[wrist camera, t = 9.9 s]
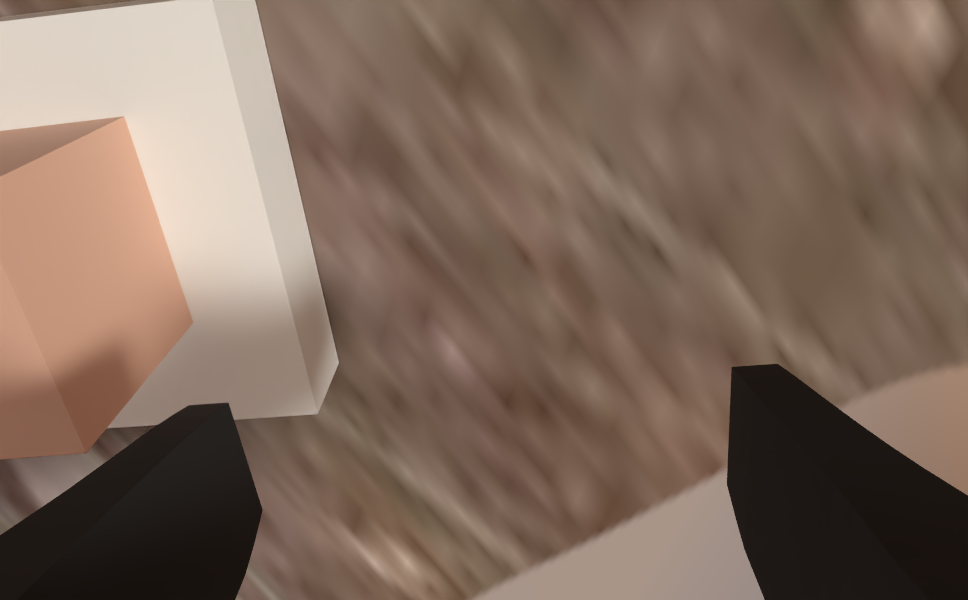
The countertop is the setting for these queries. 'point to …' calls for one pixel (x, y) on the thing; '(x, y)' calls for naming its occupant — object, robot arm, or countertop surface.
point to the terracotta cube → (78, 285)
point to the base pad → (194, 188)
